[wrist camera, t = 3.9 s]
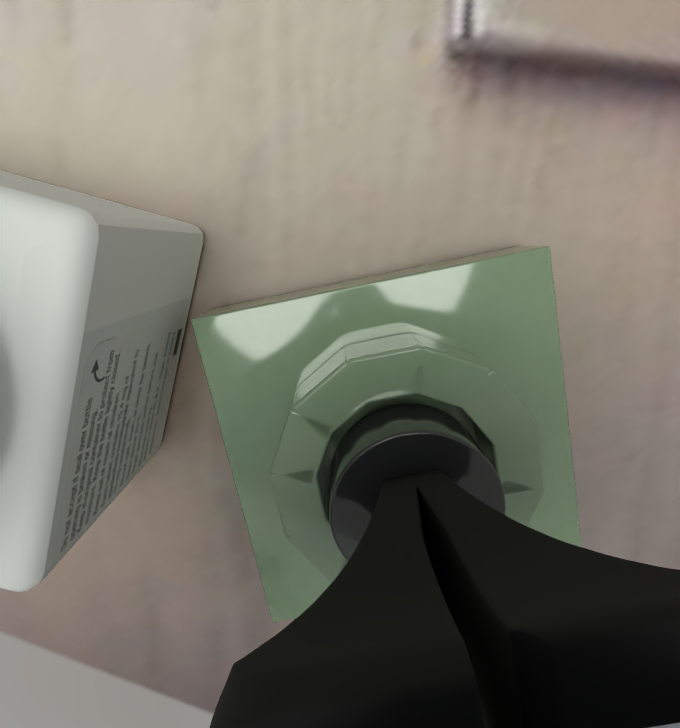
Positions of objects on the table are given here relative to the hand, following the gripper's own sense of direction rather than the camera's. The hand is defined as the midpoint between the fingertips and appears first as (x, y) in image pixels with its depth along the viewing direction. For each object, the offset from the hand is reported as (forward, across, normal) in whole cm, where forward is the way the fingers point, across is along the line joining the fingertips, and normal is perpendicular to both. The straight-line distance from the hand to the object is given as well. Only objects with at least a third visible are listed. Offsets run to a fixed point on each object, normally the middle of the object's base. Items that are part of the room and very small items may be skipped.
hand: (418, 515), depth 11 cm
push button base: (+6, 0, 0) cm, 6 cm away
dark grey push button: (+2, 0, 0) cm, 2 cm away
